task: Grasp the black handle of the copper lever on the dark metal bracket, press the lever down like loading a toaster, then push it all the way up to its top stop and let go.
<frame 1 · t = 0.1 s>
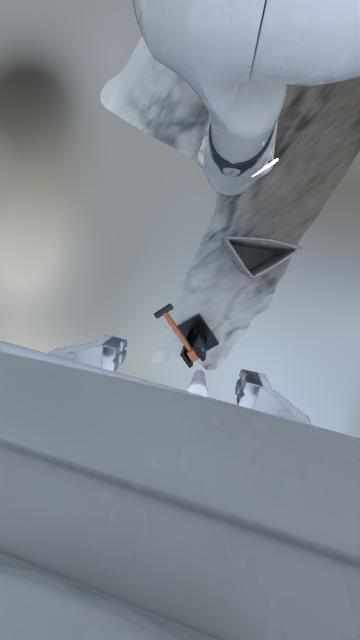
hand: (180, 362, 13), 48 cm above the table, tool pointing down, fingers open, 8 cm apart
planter: (247, 260, 55), on the table
bracket: (197, 334, 64), on the table
smoothie: (199, 374, 68), on the table
lever: (179, 334, 50), point 14 cm above the table, hinge at 0.0°
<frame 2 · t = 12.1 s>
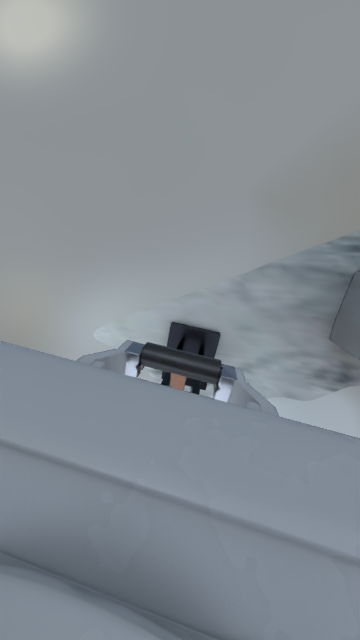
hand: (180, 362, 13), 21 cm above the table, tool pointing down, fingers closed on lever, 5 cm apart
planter: (354, 327, 30), on the table
bracket: (189, 355, 37), on the table
lever: (177, 393, 18), point 18 cm above the table, hinge at 35.2°, touching gripper
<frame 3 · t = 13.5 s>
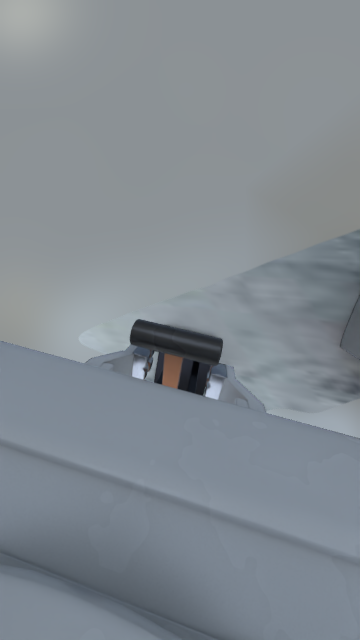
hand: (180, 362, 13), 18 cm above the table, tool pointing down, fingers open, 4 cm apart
bracket: (184, 362, 33), on the table
lever: (168, 400, 16), point 17 cm above the table, hinge at 22.9°
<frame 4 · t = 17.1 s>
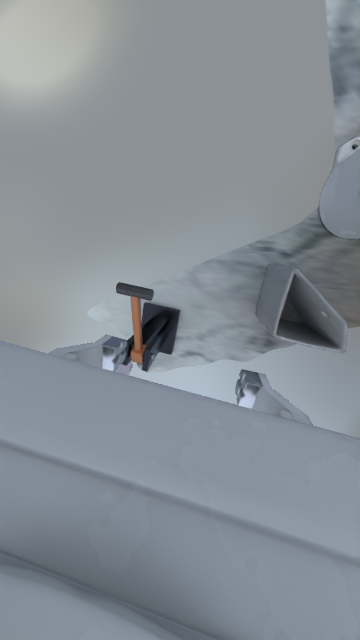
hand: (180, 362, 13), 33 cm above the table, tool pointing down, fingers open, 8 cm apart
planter: (272, 304, 43), on the table
bracket: (159, 328, 49), on the table
smoothie: (126, 364, 54), on the table
lever: (137, 328, 32), point 17 cm above the table, hinge at 22.9°
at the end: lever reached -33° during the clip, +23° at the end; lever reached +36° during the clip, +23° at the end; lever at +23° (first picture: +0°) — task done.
